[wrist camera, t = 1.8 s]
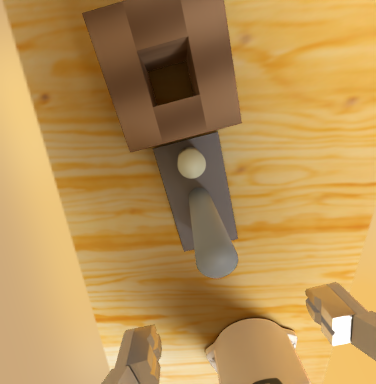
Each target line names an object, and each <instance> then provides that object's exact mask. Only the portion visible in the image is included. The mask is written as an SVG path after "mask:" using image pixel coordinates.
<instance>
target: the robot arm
mask: <svg viewBox="0 0 376 384" xmlns="http://www.w3.org/2000/svg"><path fill="white" fill-rule="evenodd" d="M305 293H306V296H307V297H308V298H307V300H306V306H307V309H308V312H309V313H310V315H311V317H312V318H313V320H314V321H315V322H316V323H318V324H320V325H321V331H322V332H323V334H324V335H325V336H326V338H327V339H328V341H329V342H330V343H331V345H332V346H335V345H340V344H346V343H351V344H353V345H354V346H355V347H357V348H358V349H360V350H361V351H362V352H364V353H365V354H367V355H368V356H370V357H371V358H372V359H374V360H375V361H376V313H375V312H373V311H369V312H368V311H367V310H366V309H365V308H364V307H363V306H362V305H361V304H360V303H359V302H358V301H357V300H355V299H354V298H353V297H352V296H351V295H350V294H349V293H348V292H347V291H346V290H345V289H344V288H343V287H342V286H341V285H340V284H338V283H336V282H335V283H330V284H326V285H321V286H317V287H313V288H309V289H306V291H305ZM296 343H297V336H296V334H295V332H294V331H292V330H289V329H285V328H282V327H280V326H279V325H278V324H276V323H274V322H272V321H270V320H267V319H261V318H252V319H245V320H241V321H238V322H236V323H233V324H232V325H230V326H228V327H227V328H225V329H224V330H223V331H222V332H221V333H220V335H219V336H218V338H217V339H216V341H215V342H214V343H213V344H212V345H211V346H209V347H208V348H207V349H206V351H205V352H206V357H207V359H208V360H209V362H210V363H211V365H212V366H213V368H214V369H215V371H216V372H217V374H218V378H219V384H311V382H310V380H309V378H308V376H307V374H306V371H305V369H304V367H303V365H302V363H301V361H300V359H299V357H298V355H297V353H296V351H295V348H296ZM161 351H162V347H161V339H160V336H159V334H157V333H156V327H155V325H149V326H144V327H139V328H134V329H130V330H126V331H125V333H124V335H123V339H122V343H121V347H120V350H119V354H118V358H117V361H116V365H115V368H114V369H112V370H111V371H110V372H109V374H108V375H107V377H106V378H105V379H104V381H103V382H102V384H159V378H160V365H159V363H158V361H159V359H160V357H161Z"/></svg>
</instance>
